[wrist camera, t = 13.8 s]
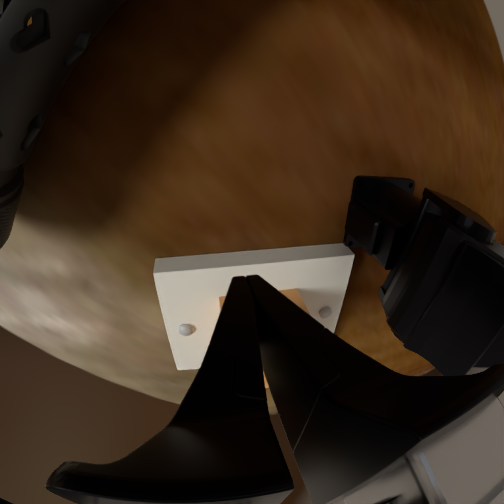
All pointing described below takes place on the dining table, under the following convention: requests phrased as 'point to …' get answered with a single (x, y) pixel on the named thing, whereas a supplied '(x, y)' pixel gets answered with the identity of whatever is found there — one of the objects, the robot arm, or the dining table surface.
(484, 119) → the dining table surface
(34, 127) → the muzzle brake
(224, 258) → the socket plate
